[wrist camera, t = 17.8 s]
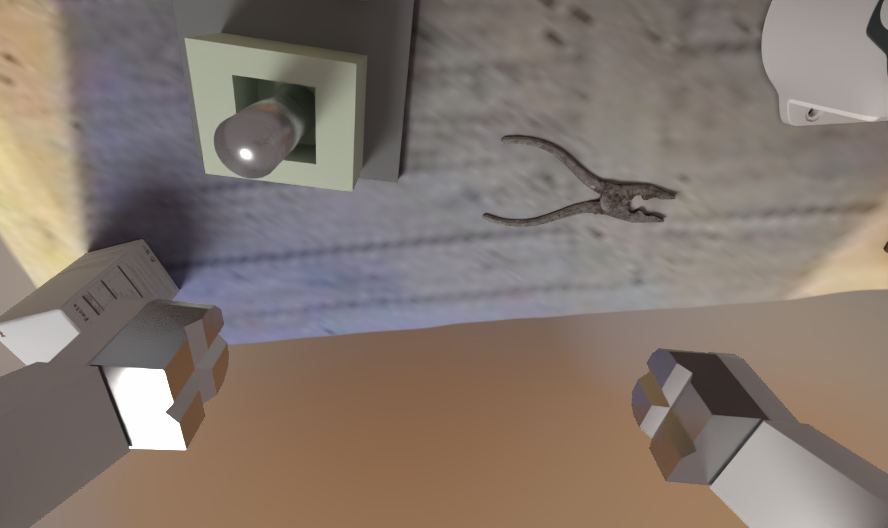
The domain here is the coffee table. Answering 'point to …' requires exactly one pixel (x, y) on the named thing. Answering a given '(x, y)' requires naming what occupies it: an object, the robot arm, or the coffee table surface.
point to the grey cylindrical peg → (265, 131)
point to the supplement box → (82, 298)
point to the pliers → (611, 194)
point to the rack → (267, 70)
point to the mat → (330, 27)
